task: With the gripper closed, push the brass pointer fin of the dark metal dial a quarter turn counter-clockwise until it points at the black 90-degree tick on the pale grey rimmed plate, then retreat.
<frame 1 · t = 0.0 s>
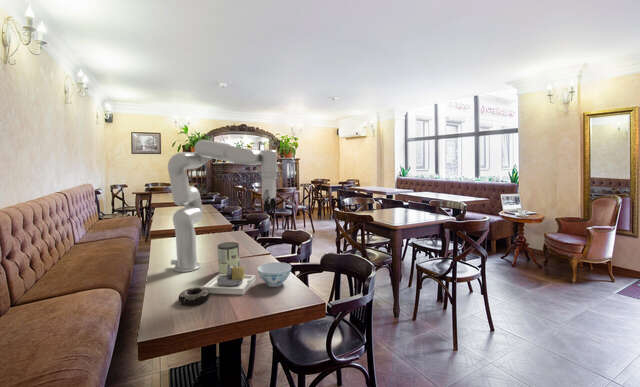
hand: (270, 210, 161), 31 cm above the table, fingers open, 9 cm apart
chinaware: (274, 284, 148), on the table
donut: (194, 301, 131), on the table
dial plate: (230, 286, 145), on the table
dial: (231, 274, 144), point 5 cm above the table, hinge at 0.0°
coffee can: (229, 272, 164), on the table
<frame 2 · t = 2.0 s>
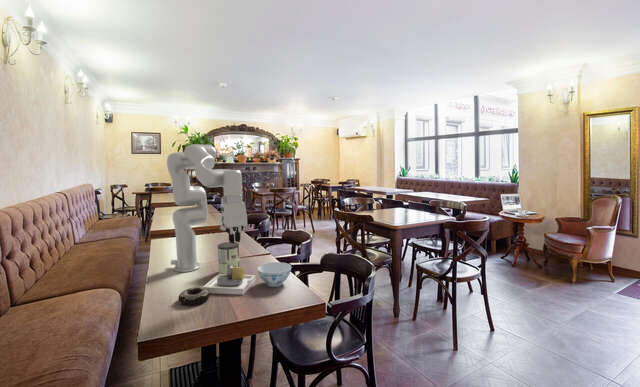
hand: (234, 242, 139), 21 cm above the table, fingers closed
nothing on the table moved.
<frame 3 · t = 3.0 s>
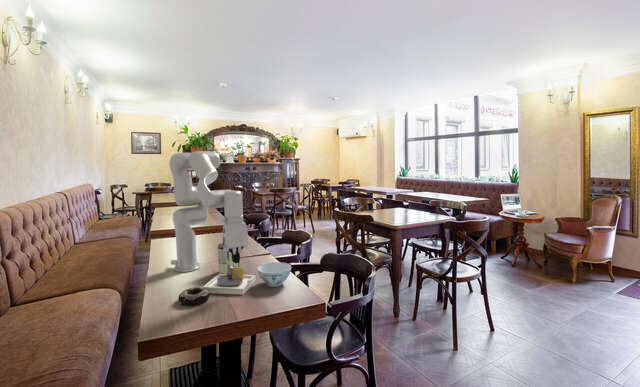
hand: (236, 262, 139), 12 cm above the table, fingers closed
nothing on the table moved.
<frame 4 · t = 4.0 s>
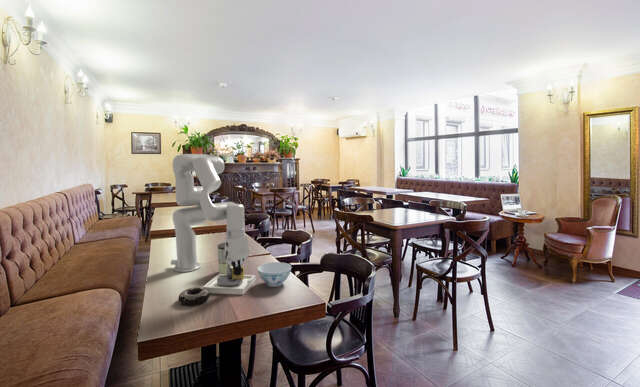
hand: (237, 274, 141), 7 cm above the table, fingers closed
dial: (231, 274, 144), point 5 cm above the table, hinge at 0.2°, touching gripper
everything else where it was.
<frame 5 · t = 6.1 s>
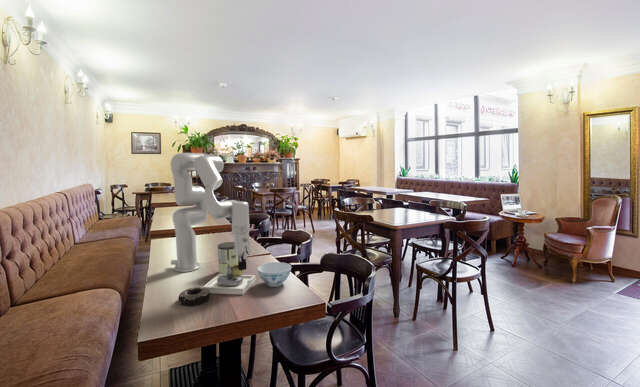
hand: (242, 269, 147), 7 cm above the table, fingers closed
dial: (230, 274, 145), point 5 cm above the table, hinge at 60.7°, touching gripper
everything else where it was.
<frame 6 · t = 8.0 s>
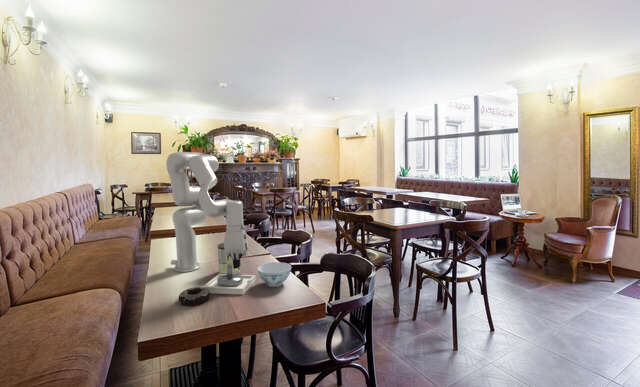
hand: (236, 267, 149), 7 cm above the table, fingers closed
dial: (230, 274, 145), point 5 cm above the table, hinge at 105.5°, touching gripper
everything else where it was.
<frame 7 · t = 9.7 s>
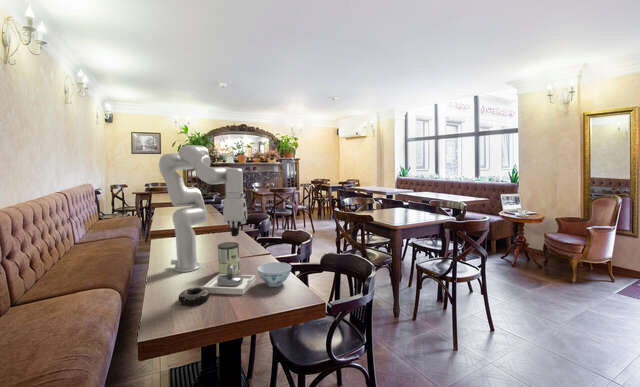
hand: (235, 235, 148), 22 cm above the table, fingers closed
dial: (230, 274, 145), point 5 cm above the table, hinge at 105.7°
everything else where it was.
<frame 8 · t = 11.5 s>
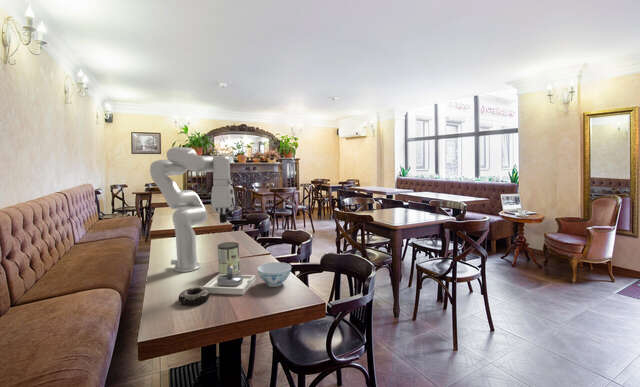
hand: (223, 222, 152), 27 cm above the table, fingers closed
nothing on the table moved.
at the end: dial at +106° (first picture: +0°) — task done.
